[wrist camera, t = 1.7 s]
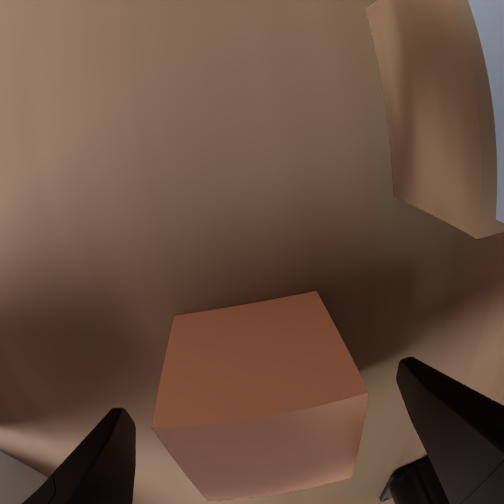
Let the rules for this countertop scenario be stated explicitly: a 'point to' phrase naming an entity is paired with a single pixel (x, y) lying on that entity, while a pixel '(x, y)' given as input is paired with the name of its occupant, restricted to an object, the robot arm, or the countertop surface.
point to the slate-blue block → (494, 76)
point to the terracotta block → (260, 399)
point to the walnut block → (438, 110)
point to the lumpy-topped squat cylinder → (17, 480)
